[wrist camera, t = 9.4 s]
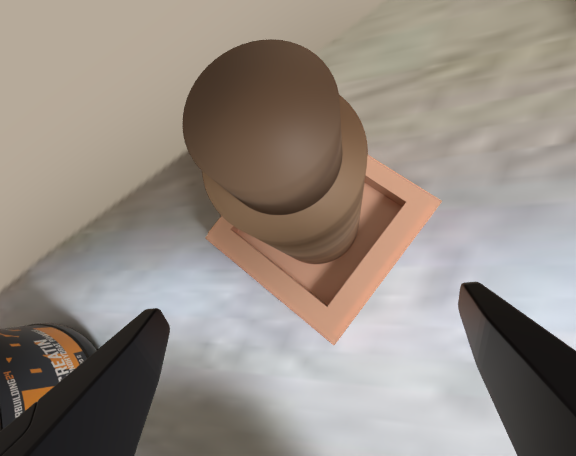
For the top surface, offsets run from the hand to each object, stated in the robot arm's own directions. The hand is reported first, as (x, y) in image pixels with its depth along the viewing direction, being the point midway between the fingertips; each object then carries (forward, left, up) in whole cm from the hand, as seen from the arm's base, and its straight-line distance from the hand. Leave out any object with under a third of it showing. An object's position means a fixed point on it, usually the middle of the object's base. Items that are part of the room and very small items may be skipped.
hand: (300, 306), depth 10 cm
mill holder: (+3, +3, -11) cm, 12 cm away
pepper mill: (+3, +3, -9) cm, 10 cm away
